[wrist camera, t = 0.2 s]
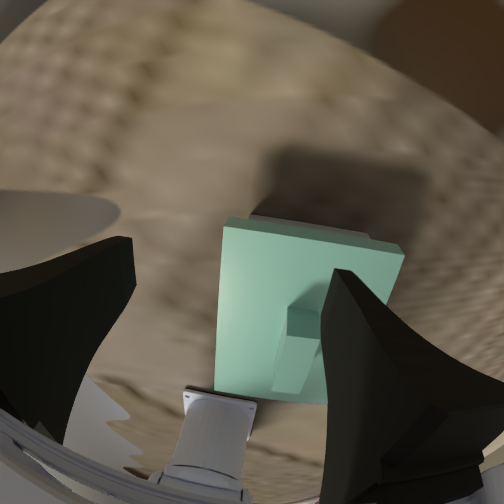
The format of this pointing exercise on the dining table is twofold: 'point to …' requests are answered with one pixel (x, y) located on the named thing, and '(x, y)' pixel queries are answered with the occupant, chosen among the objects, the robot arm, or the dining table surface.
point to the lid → (285, 304)
